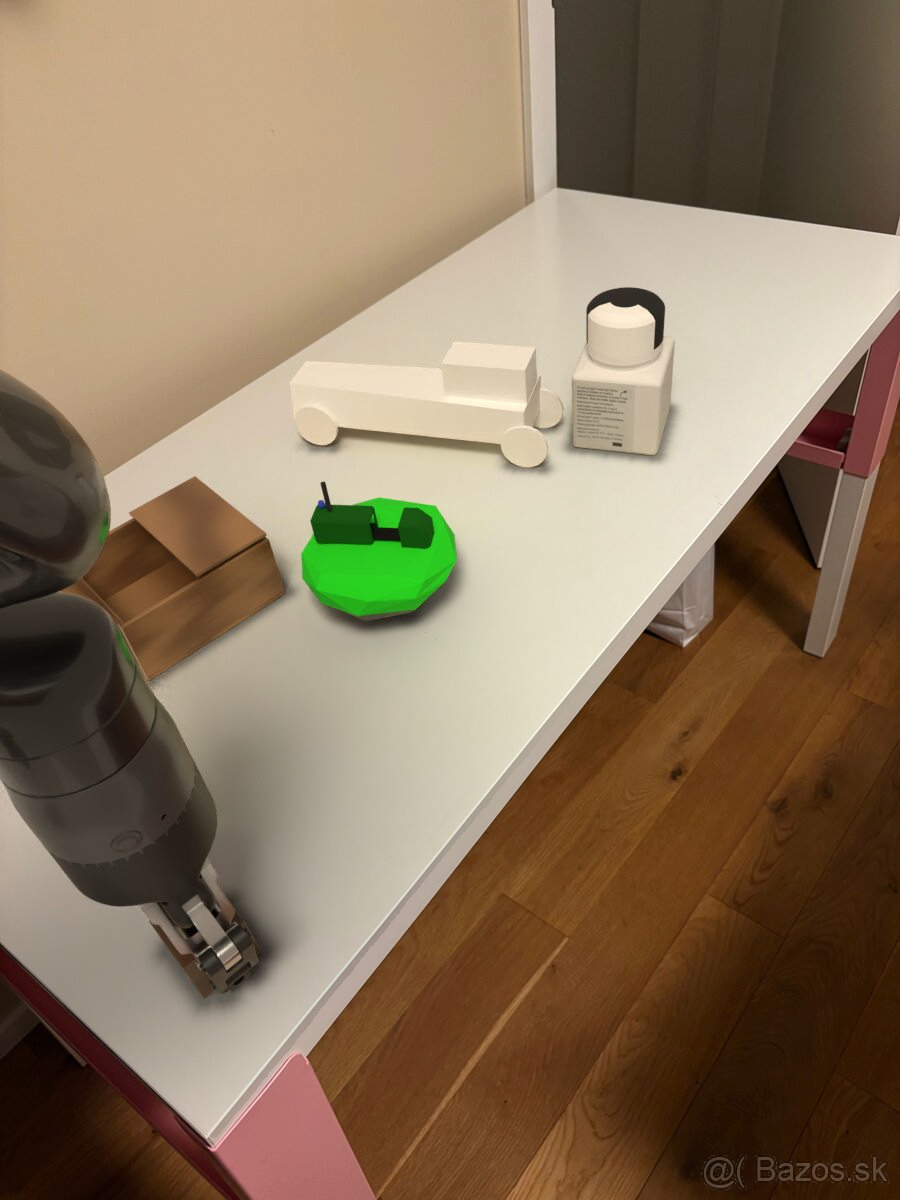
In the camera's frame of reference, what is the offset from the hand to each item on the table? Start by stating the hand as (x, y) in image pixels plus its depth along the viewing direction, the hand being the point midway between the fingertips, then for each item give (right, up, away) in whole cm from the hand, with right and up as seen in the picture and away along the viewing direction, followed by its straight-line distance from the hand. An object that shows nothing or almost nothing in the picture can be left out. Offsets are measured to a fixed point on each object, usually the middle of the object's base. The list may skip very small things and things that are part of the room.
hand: (214, 949), depth 56 cm
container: (+30, +37, +33) cm, 57 cm away
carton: (-8, +20, +22) cm, 31 cm away
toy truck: (+12, +36, +35) cm, 52 cm away
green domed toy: (+9, +21, +20) cm, 30 cm away
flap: (-14, +23, +12) cm, 30 cm away
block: (0, 0, 0) cm, 0 cm away
